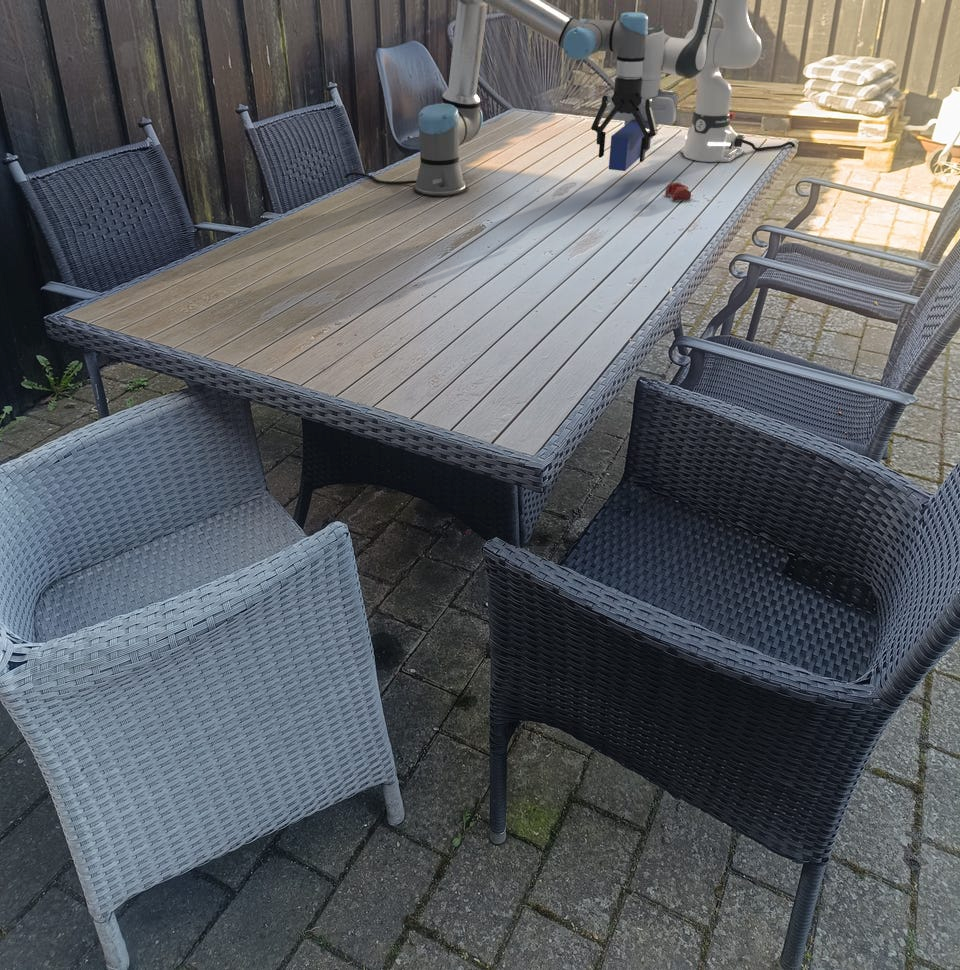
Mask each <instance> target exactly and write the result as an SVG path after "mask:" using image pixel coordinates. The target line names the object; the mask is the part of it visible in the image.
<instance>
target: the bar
mask: <svg viewBox="0 0 960 970" xmlns="http://www.w3.org/2000/svg"><path fill="white" fill-rule="evenodd" d="M645 122H646V124H647V126H648V128H649V130H650V127H649V123H648V121H645ZM643 137H644V134H643V132H642V130H641V128H640V126H639V124H638V122H637V120H631V121H630V122H629V123H627V124H626V125H624V126H622V127H621V128H620V129H619V130H617V131H616V132H615V133H613V134H612V135H611V137H610V148H609V159H608V170H612V171H621V172H627V170H629V168H630V167H632V166H633V165H634V164H635V163H636V162H637V161H638V160H640V152H641V142H642V138H643ZM651 140H652V139H650V143H651ZM650 149H651V144H650V145H649V148H648V149H647V150H645V153H646V152H648V151H649V150H650Z"/></svg>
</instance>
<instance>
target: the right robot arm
mask: <svg viewBox="0 0 960 970" xmlns="http://www.w3.org/2000/svg"><path fill="white" fill-rule="evenodd" d="M694 1H695V2H696V13H695V18H694V22H693V28H692V29H690V30H689V31H688V32H687V34H686V35H685V37H684V38H683V37H682V38H681V37H674V36H670V35H668V34H666V33H665V28H664V27H663V26H661V25H648V30H647V31H648V34H647V41H646V49H645V59H644V70H643V75H642V76H641V78H642V79H643V80H642V90H641V97H642V98H644V99H648V98H652V106H651V107H652V111H653V115H654V119H655V123H656V127H657V128H658V127H659V125H667V126H672V125H673V124H674V123H675V122H676V119H677V107H678V105H679V99H680V98H679V94H678V93H677V92H675V90H666V89H661V81H662V73H663V74H668V75H673V76H674V75H675V76H678V77H682V78H686V79H693V78H694V77H695V82H696V99H695V107H694V111H693V113H692V117H691V124H692V125H691V126H689V127H688V130H687V134H686V135H685V138H684V139H685V143H684V147H683V148H681V149H680V153H681V154H683V157H685V158H686V159H689V160H692V161H697V162H706V163H708V162H709V163H714V162H719V163H720V162H721V163H729V162H731V161H732V160H735V159H736V158H738V157H740V156H741V155H742V154H743V153H744V150H743V149H742V146H743V144H745V145H748V146H750V147H751V148H752V150H754V151H758V152H759V151H760V152H761V151H768V150H778V149H782V148H785V147H788V146H791V147H793V148H795V147H796V144H795V143H794V142H793V141H787V142H784V143H782V144H778V145H771V146H770V145H769V146H762V147H757V146H756V145H755V144H754V143H753V142H751V141H748V140H746V139H744V137H745V135H743V134H737V132H736V131H735V130H734V128H733V127H732V126H731V125H730V124H731V120H734V119H735V116H736V114H735V112H730V106H731V100H732V94H733V89H732V86H731V85H730V83H729V82H728V81H727V80H726V79H724V77H723V76H722V74H721V72H720V68H721V69H731V70H742V69H743V70H744V69H750V68H752V67H754V66H755V65H756V64H757V62H758V61H759V59H760V57H761V54H762V48H763V46H762V40H761V38H760V36H759V35H758V34H757V32H756V31H755V30H754V28H753V26H752V24H751V20H750V17H749V0H694ZM715 13H716V14H717V15H718V16H719V17H721V19H722V22H723V28H721V27H720V28H718V27H712V26H713V22H714V18H715ZM614 107H615V105H614V104H613V102H612V100H611V101H610V103H609V107H608V115H609V114H610V113H611V111H612V110H613V108H614ZM638 108H639V109H640V112H641V115H642V117H643V119H644V121H648V119H647V115H646V111H645V107H644V106H643V104H642V103H641V104H640V105H639V106H638ZM612 120H614V121H624V126H625V125H626V124H627V123H629V122H630V121H631V120H636V119H635V117H634V116H633V114H632V113H631V114H627V113H619V112H617V113H616V114H615V116H614V117H613V118H612ZM612 120H611V121H612ZM650 132H651V131H650ZM653 138H654V136H652V137H650V139H651V140H652V139H653Z"/></svg>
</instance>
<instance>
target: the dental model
mask: <svg viewBox="0 0 960 970" xmlns="http://www.w3.org/2000/svg"><path fill="white" fill-rule="evenodd" d="M665 196H672V197H671V200H672V201H673V202H674V201H685V200H686V201H687V200H691V198H692V193H691V191H690V189H689V186H687V185H685V184H682V183H681V182H678V181H677V182H675V181H673V182H671V183H669V184H668V185H667V187H666V188H665Z"/></svg>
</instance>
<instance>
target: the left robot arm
mask: <svg viewBox="0 0 960 970" xmlns="http://www.w3.org/2000/svg"><path fill="white" fill-rule="evenodd" d="M488 6H490V7H492V8H494V9H495V10H497V11H499V12H500V13H501V14H504V15H505V16H507V17H509V18H511V19H512V20H514V21H516V22H517V23H519V24H520V25H522V26H523V27H526V28H528V29H529V30H531V31H532V32H534V33H536V34H538V35H539V36H541V37H543V38H545V39H546V40H548V41H550V42H551V43H553V44H555V45H556V46H558V47H560V48H562V49H563V51H564V54H566V56H567V57H568V58H569V59H571V60H574V61H579V60H580V61H581V60H584V59H587V58H590V56H591V55H593V54H596V53H598V52H611V53H616V66H615V75H616V77H615V79H614V87H613V95H610V94H608V93H606V94H603V96H601V97H602V98H601V104H600V107H599V109H598V111H597V113H596V115H595V118H594V120H593V122H592V125H591V127H590V129H591V131H594V132H596V145H599V147H598V158H603V157H604V156H605V145H606V131H604V130H605V129H606V128H607V126H608V125H609V124H610V122H611V121H612V118H613V117H614V116H615V114H616V113H617V112H619V113H627V114H631V113H632V114H633V116H634V117H635V119H636V120H637V122H638V124H639V126H640V128H641V130H642V132H643V134H644V137H643V138H642V142H641V152H640V158H639V161H638V162H640V163H642V162H644V161H645V158H646V152H645V150H647V149H648V148H649V145H650V146H651V142H650V137H652V136H653V137H655V136H656V135H657V134H658V133H659V132H658V131H659V130H658V127H656V123H655V119H654V115H653V111H652V107H651V106H652V98H648V99H644V98H642V97H641V90H642V80H643V79H642V78H641V76H642V75H643V70H644V59H645V49H646V41H647V34H648V31H647V30H648V26H649V25H648V24H649V16H648V15H647V14H646V13H645V12H639V11H633V12H632V11H631V12H630V11H628V12H622V13H621V14H620V18H619V19H618V20H609V19H608V20H607V19H595V18H580V19H579V20H578V19H577V18H575V17H573V16H572V15H571V14H568V13H567V12H565V11H564V10H562V9H560V8H558V7H557V6H555V5H553V4H552V3H550V2H548V1H546V0H457V4H456V14H455V23H454V31H453V40H452V41H453V42H452V49H451V59H450V69H449V77H448V78H449V79H448V88H447V89H446V90H445V91H444V92H442V94H441V95H442V96H441V102H440V103H434V104H429V105H427V106H425V107H422V109H421V110H420V111H419V113H418V122H417V124H418V136H419V138H418V139H419V157H420V158H419V159H420V161H419V162H420V164H419V168H418V172H417V176H416V179H415V180H395V181H392V180H381V179H378V178H376V177H375V176H373V175H372V174H368V173H364V172H359V171H350V172H348V173H346V174H345V175H344V176H343V178H345V179H346V178H348V177H350V176H355V175H357V176H360V177H365V178H368V179H372V181H374V182H375V183H378V184H383V185H409V184H411V185H412V184H415V192H417V193H418V194H420V195H424V196H430V197H450V196H455V195H459V194H461V193H463V192H464V191H466V181H465V179H464V176H463V172H462V169H461V165H460V146H461V145H464V144H466V143H469V142H470V141H471V140H473V139H474V138H475V137H476V136H477V135H478V134H479V133H480V131H481V129H482V126H483V123H484V116H483V111H482V110H481V108H480V107H481V106H480V105H481V98H480V96H479V95H478V94H477V93H478V92H477V90H478V82H479V74H480V66H481V60H482V59H481V58H482V52H483V44H484V43H483V42H484V38H485V37H484V35H485V28H486V21H487V14H488V12H487V11H488ZM611 100H612V102H613V104H614V105H615V107H614V108H613V110H612V111H611V113H610V114H609V113H608V115H607V116H606V118H605V119H604V120H603V122H602V123H601V124H600V122H601V120H602V118H603V116H604V114H605V112H606V109H607V107H608V105H609V104H610V102H611ZM641 103H642V104H643V106H644V107H645V111H646V115H647V119H648V123H649V127H650V130H649V128H648V126H647V124H646V122H645V121H644V119H643V117H642V115H641V112H640V109H639V108H638V106H639V105H640V104H641ZM599 124H600V125H599ZM650 131H651V132H650ZM648 150H649V149H648ZM648 150H647V151H648ZM369 175H370V176H369Z"/></svg>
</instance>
